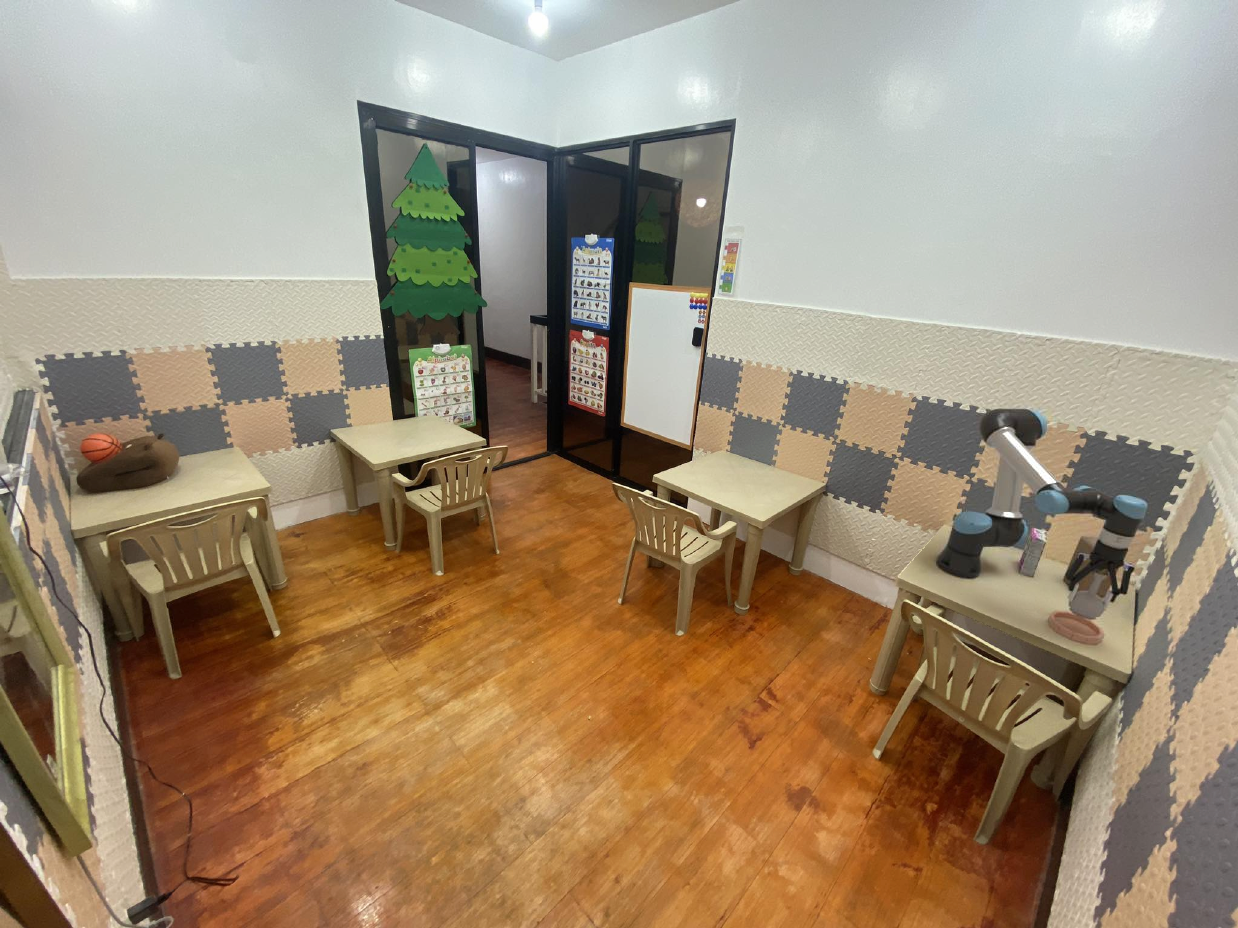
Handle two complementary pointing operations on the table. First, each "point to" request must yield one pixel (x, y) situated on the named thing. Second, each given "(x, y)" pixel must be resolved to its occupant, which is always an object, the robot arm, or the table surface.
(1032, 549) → the candy bar box
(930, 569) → the table surface
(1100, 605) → the potion bottle
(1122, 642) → the table surface
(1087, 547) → the wooden block
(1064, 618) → the saucer
